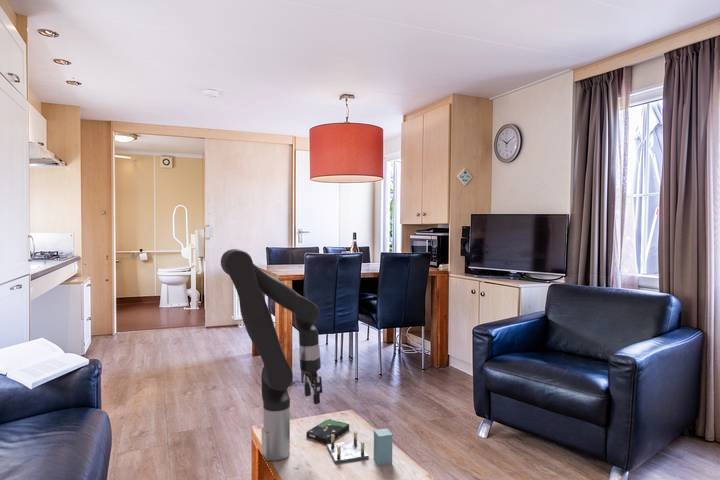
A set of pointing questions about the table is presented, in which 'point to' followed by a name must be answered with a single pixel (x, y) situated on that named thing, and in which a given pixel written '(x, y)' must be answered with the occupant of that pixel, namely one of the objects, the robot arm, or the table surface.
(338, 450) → the chassis plate
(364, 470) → the table surface
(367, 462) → the table surface
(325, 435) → the disk drive
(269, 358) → the robot arm
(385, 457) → the teal block
